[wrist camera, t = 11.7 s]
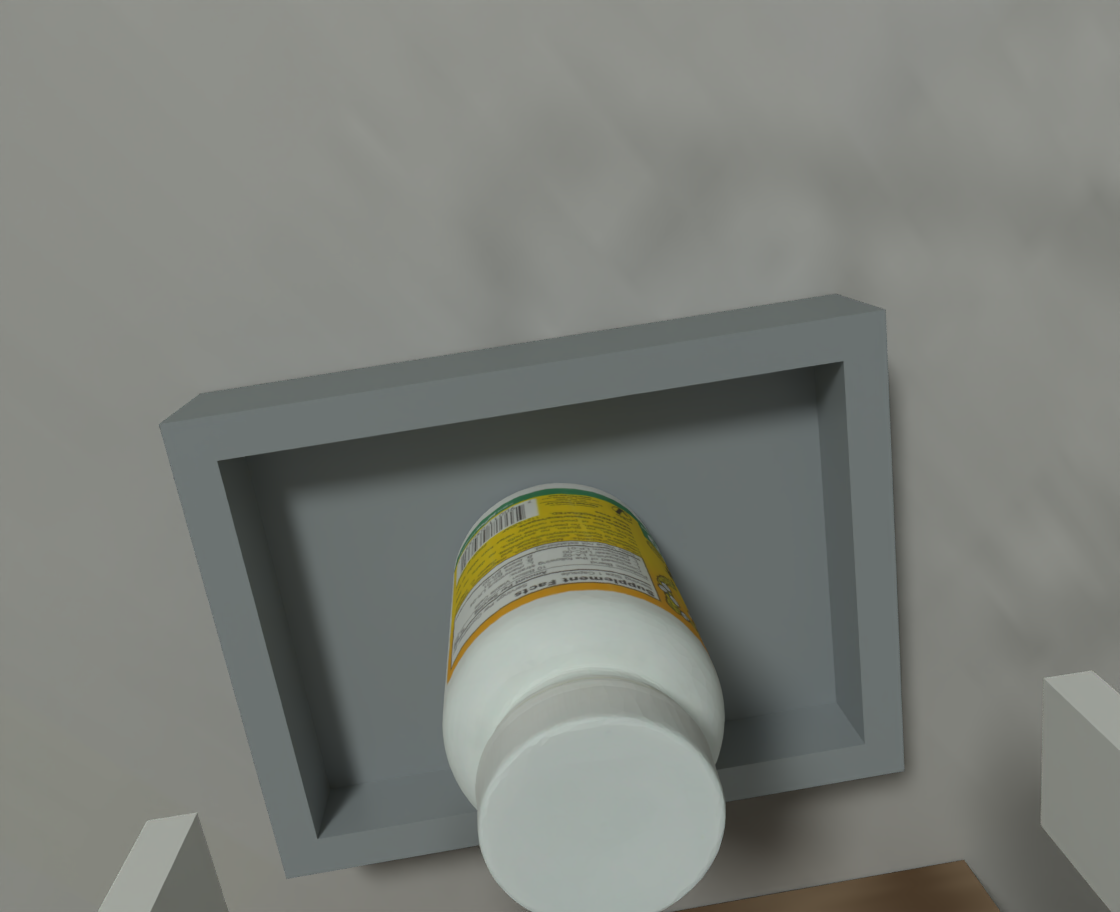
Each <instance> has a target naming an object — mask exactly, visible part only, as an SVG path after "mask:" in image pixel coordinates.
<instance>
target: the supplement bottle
mask: <svg viewBox="0 0 1120 912" xmlns="http://www.w3.org/2000/svg"><path fill="white" fill-rule="evenodd" d="M724 723H725V711H724V700H723V694H722V689H721V685H720V682H719V678H718V676H717V673H716V670H715V668H714V665H713V663H712V661H711V659H710V656H709V654H708V652H707V649H706V647H705V645H704V643H703V641H702V639H701V637H700V634H699V632H698V630H697V628H696V625H695V623H694V621H693V619H692V617H691V615H690V613H689V611H688V609H687V607H686V605H685V602H684V600H683V598H682V596H681V594H680V592H679V590H678V588H677V587H676V584H675V582H674V580H673V577H672V575H671V573H670V571H669V569H668V567H667V565H666V563H665V560H664V558H663V556H662V554H661V553H660V551H659V548H658V546H657V544H656V543H655V541H654V539H653V538H652V536H651V535H650V533H649V531H648V530H647V528H646V527H645V526H644V524H643V523H642V521H641V520H640V519H639V518H638V516H637V515H636V514H635V513H634V512H633V511H632V510H631V509H630V508H629V507H628V506H627V505H625V504H624V503H623V502H622V501H621V500H619V499H617V498H616V497H614V496H612V495H611V494H608V493H606V492H604V491H602V490H599V489H596V488H593V487H589V486H585V485H579V484H571V483H551V484H543V485H538V486H534V487H530V488H527V489H524V490H521V491H518V492H516V493H514V494H512V495H510V496H508V497H506V498H504V499H503V500H501V501H499V502H498V503H497V504H495V505H494V506H493V507H491V508H490V509H489V510H488V511H487V512H485V513H484V514H483V515H482V516H481V517H480V518H479V519H478V521H477V522H476V523H475V524H474V525H473V527H472V528H471V530H470V531H469V533H468V534H467V536H466V538H465V540H464V541H463V543H462V546H461V548H460V550H459V553H458V556H457V559H456V563H455V568H454V574H453V588H452V602H451V616H450V629H449V643H448V656H447V669H446V682H445V692H444V705H443V722H442V726H443V739H444V747H445V751H446V755H447V759H448V762H449V765H450V768H451V770H452V772H453V775H454V777H455V779H456V781H457V783H458V785H459V787H460V788H461V790H462V792H463V793H464V795H465V796H466V797H467V799H468V800H469V801H470V803H471V804H472V805H473V806H474V807H475V808H476V810H477V822H478V838H479V845H480V849H481V852H482V855H483V857H484V860H485V863H486V865H487V867H488V869H489V871H490V873H491V875H492V876H493V878H494V879H495V881H496V882H497V884H498V885H499V886H500V887H501V888H502V889H503V890H504V891H505V892H506V893H507V894H508V895H509V896H510V897H511V898H512V899H513V900H515V901H516V902H517V903H518V904H520V905H521V906H523V907H524V908H526V909H528V910H529V911H531V912H661V911H662V910H664V909H666V908H668V907H669V906H671V905H672V904H674V903H675V902H677V901H678V900H679V899H681V898H682V897H683V896H684V895H686V894H687V893H688V892H689V891H690V890H691V889H692V888H693V887H694V886H695V885H696V884H697V883H698V882H699V881H700V880H701V879H702V878H703V877H704V875H705V874H706V872H707V871H708V869H709V868H710V866H711V865H712V863H713V861H714V859H715V857H716V855H717V853H718V851H719V848H720V845H721V841H722V839H723V834H724V830H725V820H726V801H725V797H724V792H723V788H722V785H721V782H720V779H719V776H718V773H717V770H716V766H715V764H716V762H717V759H718V756H719V753H720V749H721V745H722V740H723V734H724Z"/></svg>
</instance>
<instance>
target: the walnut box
mask: <svg viewBox="0 0 1120 912" xmlns="http://www.w3.org/2000/svg"><path fill="white" fill-rule="evenodd" d="M675 912H1000V910H999V909H998V908H997V906H996V905H995V903H994V902H993V900H992V899H991V898H990V896H989V895H988V893H987V892H986V891H985V889H984V888H983V886H982V885H981V883H980V882H979V881H978V879H977V878H976V876H975V875H974V874H973V872H972V871H971V869H970V868H969V866H968V865H967V864H966V862H965V861H964V860H961V861H956V862H950V863H944V864H939V865H933V866H928V867H922V868H916V869H911V870H905V871H900V872H894V873H888V874H883V875H877V876H872V877H866V878H860V879H855V880H849V881H843V882H838V883H832V884H827V885H821V886H815V887H810V888H804V889H799V890H793V891H787V892H782V893H776V894H771V895H765V896H759V897H754V898H748V899H742V900H737V901H731V902H726V903H720V904H714V905H709V906H703V907H698V908H692V909H686V910H681V911H675Z"/></svg>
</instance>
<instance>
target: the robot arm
mask: <svg viewBox="0 0 1120 912" xmlns="http://www.w3.org/2000/svg"><path fill="white" fill-rule="evenodd" d="M1041 826H1042V827H1043V829H1044V830H1045V831H1046V832H1047V834H1048V835H1049V836H1050V837H1051V838H1052V840H1053V841H1054V842H1055V843H1056V845H1057V846H1058V847H1059V848H1060V850H1061V851H1062V852H1063V853H1064V854H1065V856H1066V857H1067V858H1068V859H1069V861H1070V862H1071V863H1072V864H1073V866H1074V867H1075V868H1076V869H1077V870H1078V872H1079V873H1080V874H1081V875H1082V877H1083V878H1084V879H1085V880H1086V881H1087V883H1088V884H1089V885H1090V886H1091V888H1092V889H1093V890H1094V891H1095V893H1096V894H1097V895H1098V896H1099V897H1100V899H1101V900H1102V901H1103V902H1104V904H1105V905H1106V906H1107V907H1108V909H1109V910H1110V911H1111V912H1120V694H1119V693H1118V692H1117V691H1116V690H1114V689H1113V688H1112V687H1111V686H1110V685H1109V684H1107V683H1106V682H1105V681H1104V680H1103V679H1102V678H1100V677H1099V676H1098V675H1097V674H1096V673H1095V672H1093V671H1086V672H1079V673H1073V674H1067V675H1061V676H1054V677H1048V678H1043V729H1042V781H1041ZM98 912H228V908H227V905H226V902H225V899H224V896H223V893H222V889H221V886H220V883H219V880H218V877H217V874H216V870H215V867H214V864H213V861H212V858H211V855H210V852H209V848H208V845H207V842H206V839H205V836H204V833H203V829H202V826H201V823H200V820H199V817H198V814H197V813H192V814H185V815H179V816H173V817H166V818H160V819H154V820H148V821H147V822H146V824H145V826H144V827H143V829H142V831H141V833H140V835H139V837H138V838H137V840H136V842H135V844H134V846H133V848H132V849H131V851H130V853H129V855H128V857H127V859H126V861H125V862H124V864H123V866H122V868H121V870H120V872H119V873H118V875H117V877H116V879H115V881H114V883H113V884H112V886H111V888H110V890H109V892H108V894H107V896H106V897H105V899H104V901H103V903H102V905H101V907H100V908H99V910H98Z"/></svg>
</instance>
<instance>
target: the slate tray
mask: <svg viewBox="0 0 1120 912" xmlns="http://www.w3.org/2000/svg"><path fill="white" fill-rule="evenodd" d="M159 426H160V430H161V434H162V437H163V441H164V444H165V448H166V451H167V455H168V458H169V462H170V466H171V469H172V473H173V476H174V480H175V483H176V487H177V490H178V494H179V498H180V501H181V505H182V508H183V512H184V515H185V519H186V523H187V526H188V530H189V533H190V537H191V540H192V544H193V547H194V551H195V555H196V558H197V562H198V565H199V569H200V572H201V576H202V579H203V583H204V587H205V590H206V594H207V597H208V601H209V604H210V608H211V611H212V615H213V619H214V622H215V626H216V629H217V633H218V636H219V640H220V643H221V647H222V651H223V654H224V658H225V661H226V665H227V668H228V672H229V675H230V679H231V683H232V686H233V690H234V693H235V697H236V700H237V704H238V707H239V711H240V715H241V718H242V722H243V725H244V729H245V732H246V736H247V739H248V743H249V747H250V750H251V754H252V757H253V761H254V764H255V768H256V771H257V775H258V779H259V782H260V786H261V789H262V793H263V796H264V800H265V804H266V807H267V811H268V814H269V818H270V821H271V825H272V828H273V832H274V836H275V839H276V843H277V846H278V850H279V853H280V857H281V860H282V864H283V868H284V871H285V875H286V878H287V879H288V878H294V877H300V876H306V875H311V874H317V873H323V872H329V871H334V870H340V869H346V868H351V867H357V866H363V865H369V864H374V863H380V862H386V861H392V860H397V859H403V858H409V857H414V856H420V855H426V854H432V853H437V852H443V851H449V850H455V849H460V848H466V847H472V846H477V845H479V838H478V822H477V810H476V808H475V807H474V806H473V805H472V804H471V803H470V801H469V800H468V799H467V797H466V796H465V795H464V793H463V792H462V790H461V788H460V787H459V785H458V783H457V781H456V779H455V777H454V775H453V772H452V770H451V768H450V765H449V762H448V759H447V755H446V751H445V747H444V739H443V726H442V722H443V705H444V692H445V682H446V669H447V656H448V643H449V629H450V616H451V602H452V588H453V574H454V568H455V563H456V559H457V556H458V553H459V550H460V548H461V546H462V543H463V541H464V540H465V538H466V536H467V534H468V533H469V531H470V530H471V528H472V527H473V525H474V524H475V523H476V522H477V521H478V519H479V518H480V517H481V516H482V515H483V514H484V513H485V512H487V511H488V510H489V509H490V508H491V507H493V506H494V505H495V504H497V503H498V502H499V501H501V500H503V499H504V498H506V497H508V496H510V495H512V494H514V493H516V492H518V491H521V490H524V489H527V488H530V487H534V486H538V485H543V484H551V483H571V484H579V485H585V486H589V487H593V488H596V489H599V490H602V491H604V492H606V493H608V494H611V495H612V496H614V497H616V498H617V499H619V500H621V501H622V502H623V503H624V504H625V505H627V506H628V507H629V508H630V509H631V510H632V511H633V512H634V513H635V514H636V515H637V516H638V518H639V519H640V520H641V521H642V523H643V524H644V526H645V527H646V528H647V530H648V531H649V533H650V535H651V536H652V538H653V539H654V541H655V543H656V544H657V546H658V548H659V551H660V553H661V554H662V556H663V558H664V560H665V563H666V565H667V567H668V569H669V571H670V573H671V575H672V577H673V580H674V582H675V584H676V587H677V588H678V590H679V592H680V594H681V596H682V598H683V600H684V602H685V605H686V607H687V609H688V611H689V613H690V615H691V617H692V619H693V621H694V623H695V625H696V628H697V630H698V632H699V634H700V637H701V639H702V641H703V643H704V645H705V647H706V649H707V652H708V654H709V656H710V659H711V661H712V663H713V665H714V668H715V670H716V673H717V676H718V678H719V682H720V685H721V689H722V694H723V700H724V711H725V723H724V734H723V740H722V745H721V749H720V753H719V756H718V759H717V762H716V764H715V766H716V770H717V773H718V776H719V779H720V782H721V785H722V788H723V792H724V797H725V801H726V802H729V801H735V800H741V799H747V798H752V797H758V796H764V795H770V794H775V793H781V792H787V791H792V790H798V789H804V788H810V787H815V786H821V785H827V784H833V783H838V782H844V781H850V780H855V779H861V778H867V777H873V776H878V775H884V774H890V773H895V772H901V771H904V747H903V722H902V698H901V674H900V649H899V625H898V601H897V576H896V552H895V528H894V503H893V479H892V455H891V431H890V406H889V382H888V358H887V333H886V310H885V309H882V308H879V307H876V306H873V305H869V304H866V303H863V302H860V301H857V300H854V299H851V298H848V297H844V296H841V295H838V294H832V295H826V296H820V297H813V298H807V299H801V300H794V301H788V302H782V303H775V304H769V305H762V306H756V307H750V308H743V309H737V310H731V311H724V312H718V313H711V314H705V315H699V316H692V317H686V318H680V319H673V320H667V321H661V322H654V323H648V324H641V325H635V326H629V327H622V328H616V329H610V330H603V331H597V332H590V333H584V334H578V335H571V336H565V337H559V338H552V339H546V340H540V341H533V342H527V343H520V344H514V345H508V346H501V347H495V348H489V349H482V350H476V351H469V352H463V353H457V354H450V355H444V356H438V357H431V358H425V359H419V360H412V361H406V362H399V363H393V364H387V365H380V366H374V367H368V368H361V369H355V370H348V371H342V372H336V373H329V374H323V375H317V376H310V377H304V378H298V379H291V380H285V381H278V382H272V383H266V384H259V385H253V386H247V387H240V388H234V389H227V390H221V391H215V392H208V393H202V394H199V395H198V396H196V397H195V398H194V399H192V400H191V401H190V402H188V403H187V404H186V405H184V406H183V407H182V408H180V409H179V410H178V411H176V412H175V413H173V414H172V415H171V416H169V417H168V418H167V419H165V420H164V421H163V422H161V423H160V424H159Z"/></svg>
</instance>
